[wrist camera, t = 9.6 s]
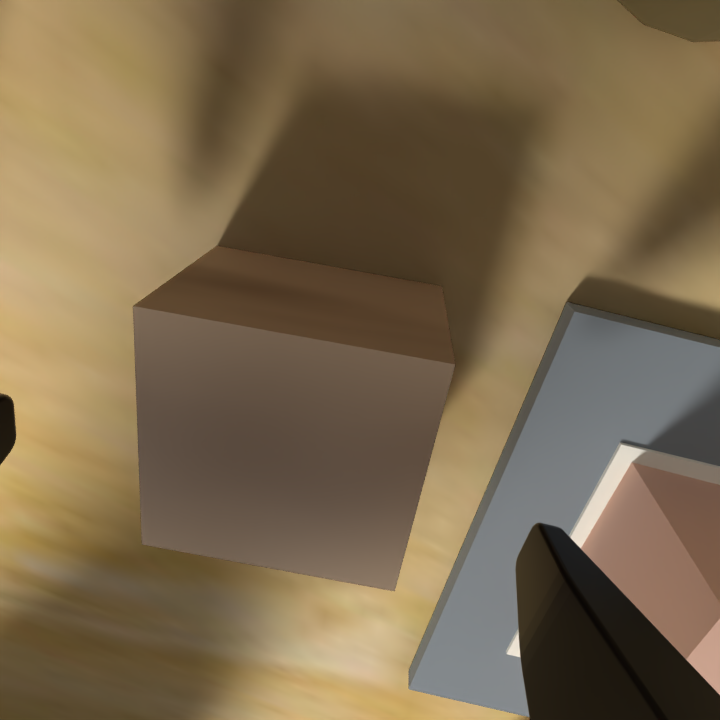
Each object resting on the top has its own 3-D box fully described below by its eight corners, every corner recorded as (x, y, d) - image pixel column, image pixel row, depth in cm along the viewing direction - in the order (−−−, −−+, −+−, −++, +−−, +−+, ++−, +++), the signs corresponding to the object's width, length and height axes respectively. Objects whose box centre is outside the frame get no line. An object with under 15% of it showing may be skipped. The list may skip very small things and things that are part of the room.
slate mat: (762, 752, 17) (775, 777, 17) (408, 670, 17) (408, 692, 16) (1091, 431, 12) (1130, 450, 11) (566, 302, 11) (576, 313, 11)
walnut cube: (398, 465, 14) (394, 591, 10) (211, 431, 14) (141, 544, 10) (441, 284, 12) (455, 364, 8) (218, 244, 12) (133, 306, 8)
